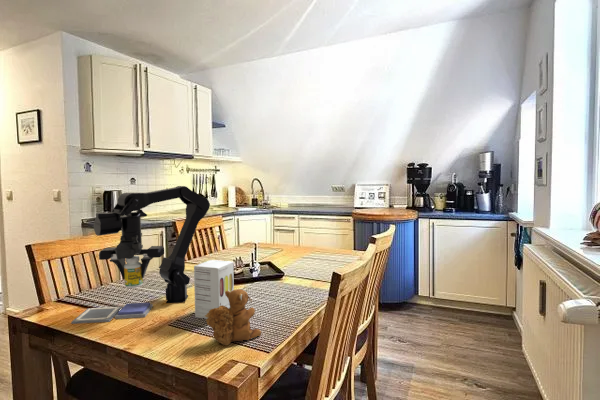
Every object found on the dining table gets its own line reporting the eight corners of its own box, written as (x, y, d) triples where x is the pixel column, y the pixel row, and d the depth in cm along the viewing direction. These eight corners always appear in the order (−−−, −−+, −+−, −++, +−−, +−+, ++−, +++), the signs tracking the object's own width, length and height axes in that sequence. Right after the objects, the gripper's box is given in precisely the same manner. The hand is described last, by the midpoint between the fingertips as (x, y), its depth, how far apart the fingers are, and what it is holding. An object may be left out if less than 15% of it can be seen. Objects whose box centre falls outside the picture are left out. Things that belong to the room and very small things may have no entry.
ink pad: (153, 306, 122) (152, 301, 122) (145, 317, 113) (144, 311, 113) (125, 308, 121) (125, 303, 121) (115, 318, 112) (115, 313, 112)
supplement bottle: (141, 282, 120) (140, 254, 119) (144, 286, 115) (143, 257, 115) (123, 285, 117) (122, 256, 116) (126, 289, 113) (124, 260, 112)
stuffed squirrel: (264, 335, 100) (263, 289, 99) (222, 354, 90) (221, 303, 89) (241, 325, 107) (241, 282, 106) (201, 341, 97) (199, 294, 96)
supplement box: (219, 321, 109) (217, 268, 108) (194, 317, 112) (192, 265, 111) (235, 310, 118) (234, 261, 117) (211, 307, 121) (210, 258, 120)
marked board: (122, 308, 121) (122, 306, 121) (109, 321, 110) (109, 319, 110) (88, 310, 119) (88, 307, 119) (71, 323, 108) (71, 321, 108)
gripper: (89, 236, 106) (92, 287, 107) (154, 234, 108) (156, 284, 109) (105, 230, 117) (107, 276, 118) (163, 228, 119) (165, 274, 120)
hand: (133, 278), depth 116 cm, fingers closed on supplement bottle, 5 cm apart
